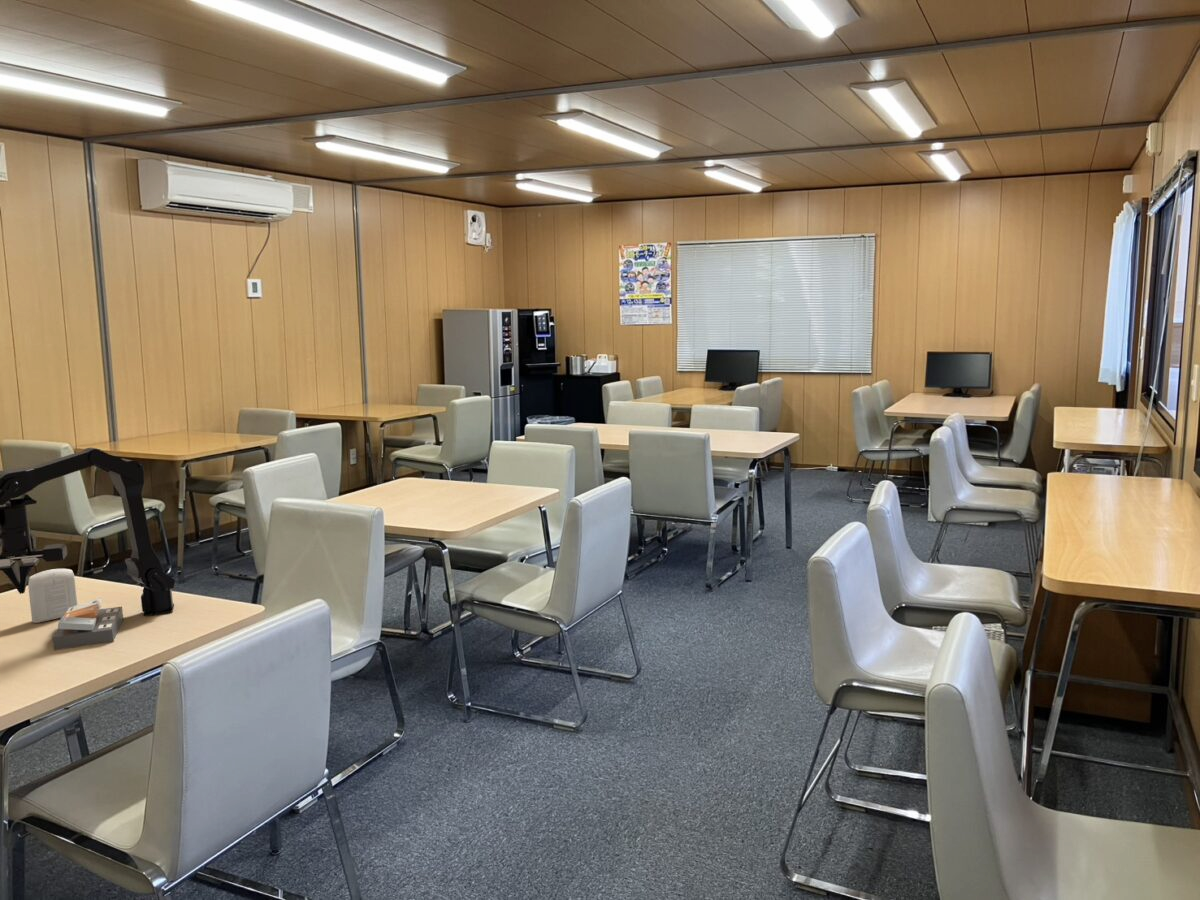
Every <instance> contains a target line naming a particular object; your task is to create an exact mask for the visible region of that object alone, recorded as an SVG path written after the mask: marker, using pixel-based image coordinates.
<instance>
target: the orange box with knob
mask: <svg viewBox="0 0 1200 900" xmlns="http://www.w3.org/2000/svg"><path fill="white" fill-rule="evenodd" d="M98 613H99V610H98V606H96V607H92V608H88V609H84V610H79V611H75V612H71V613H67V614H65V615H64V616H63V617H79V618H96V617H97V615H98Z"/></svg>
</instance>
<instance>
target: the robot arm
mask: <svg viewBox="0 0 1200 900" xmlns="http://www.w3.org/2000/svg"><path fill="white" fill-rule="evenodd" d="M93 466H94V467H96V468H97V469H99V470H102V471H104V472H106V473H108V475H109V477H110V480H111V482H112V484H113V486H114V488H115V490H116V491H117V492H118V494H119V496H120V497H121V503H122V507H123V511H124V517H125V522H126V523H125V524H126V525H127V526H126V527H127V531H128V532H127V533H128V536H129V541H130V546H131V555H130V558H125V559H124V562H125V564H126V567H127V569H126V570H127V571H126V574H127V575H129V576H130V577H131V579H132V580H134V581H135V582H137V583H138V585H139V586H140V587H141V588H143V589H142V593H141V595H140V601H141V603H140V604H141V612H143V616H144V617H145V616H146V617H148V616H154V615H161V614H162V615H163V614H169V613H173V612H174V608H175V603H174V601H173V599H174V598H173V593H172V592H173V591H172V589H174V588H175V584H176V579H174V578H173V577H171V576H170V575H168V574H166V573H165V569H164V567H163V565H162V562H161V560H160V557H159V555H157V553H156V552H155V550H154V547H153V544H152V540H151V534H150V529H149V525H148V519H147V515H146V514H147V513H146V509H145V505H144V498H143V490H144V487H145V469H144V466H143V464H141V463H140V462H138V461H137V460H136V461H135V460H131V459H126V458H120V457H117V456H114V455H113V454H109V453H107V452H105V451H103V450H102V449H100V448H95V447H87V448H84V449H83V450H80V451H78V452H74V453H71V454H68V455H64V456H60V457H58V458H55V459H52V460H49V461H46V462H42V463H40V464H37V465H33V466H26V467H15V468H11V469H10V468H9V469H3V470H0V548H1V552H0V571H2V572H3V574H4V575H6V577H8V579H9V580H10V581H11V582H12V584H13V586H14V587H15V588H16V590H17V592H18V593H19V594H25V592H26V589H27V586H28V582H29V577H30V573H31V571H32V569H33V568H34V567H36V566H37V565H38V563H40V559H43V560H44V561H46V563H50V562H58V561H64V560H65V558H66V557H67V556H68V548H67V545H66V544H65V543H54V544H46V545H45V546H44V547H43V549H37V535H36V534H35V533H34V534H33V533H31V528H30V524H29V516H28V508H27V506H28V505H29V506H30V505H36V504H37V500H36V499H34V498H32V497H31V496H30V495H29V494H28V493H29V492H31V491H33V490H35V489H36V488H37V487H39V485H43V484H44V483H45V482H49V481H51V480H54V479H58V478H61V477H64V476H67V475H70V474H72V473H76V472H79V471H82V470H84V469H88V468H92V467H93ZM19 561H21V562H22V563H21V564H20V565H19Z"/></svg>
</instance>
